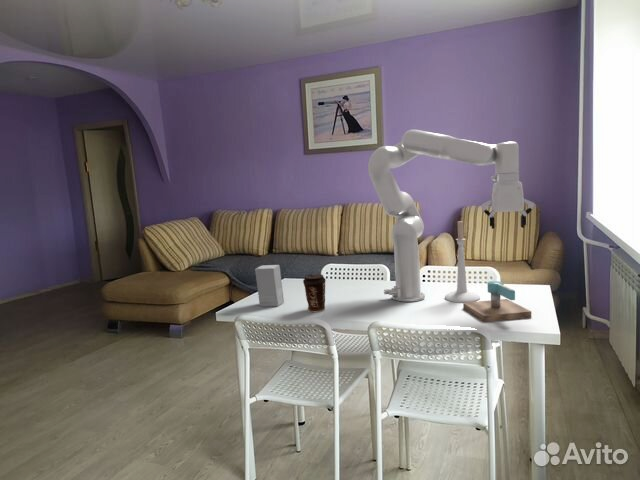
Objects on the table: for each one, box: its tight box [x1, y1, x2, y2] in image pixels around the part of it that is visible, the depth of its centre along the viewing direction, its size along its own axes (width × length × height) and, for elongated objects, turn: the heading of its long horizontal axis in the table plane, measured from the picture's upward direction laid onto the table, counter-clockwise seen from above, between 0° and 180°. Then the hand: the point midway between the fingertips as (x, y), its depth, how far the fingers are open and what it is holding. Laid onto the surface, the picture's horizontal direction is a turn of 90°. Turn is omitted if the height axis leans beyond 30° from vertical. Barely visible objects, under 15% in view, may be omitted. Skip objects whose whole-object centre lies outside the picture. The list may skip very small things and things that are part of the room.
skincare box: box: [254, 264, 285, 307], centre depth 184 cm, size 8×7×16 cm
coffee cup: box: [302, 273, 326, 313], centre depth 172 cm, size 9×8×13 cm
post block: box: [462, 293, 532, 323], centre depth 156 cm, size 16×16×7 cm
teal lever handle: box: [487, 280, 516, 301], centre depth 150 cm, size 14×5×3 cm, turn 6°
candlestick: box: [444, 220, 481, 304], centre depth 175 cm, size 13×13×30 cm
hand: (507, 227), depth 161 cm, fingers open, 9 cm apart
